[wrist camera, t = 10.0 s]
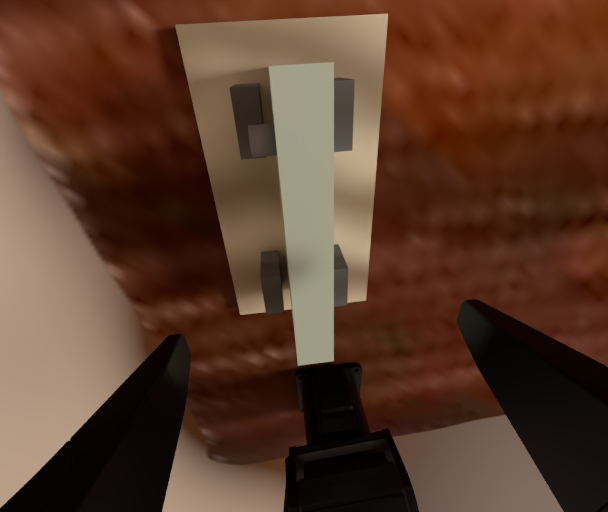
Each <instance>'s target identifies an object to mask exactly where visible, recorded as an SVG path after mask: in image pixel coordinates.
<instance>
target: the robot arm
mask: <svg viewBox="0 0 608 512" xmlns="http://www.w3.org/2000/svg"><path fill="white" fill-rule="evenodd" d="M457 323H458V327H459V329H460V331H461V333H462V335H463V337H464V339H465V342H466V344H467V346H468V348H469V350H470V352H471V354H472V357H473V359H474V361H475V363H476V365H477V367H478V369H479V370H480V372H481V374H482V376H483V377H484V379H485V381H486V382H487V384H488V386H489V387H490V389H491V391H492V392H493V394H494V396H495V397H496V399H497V401H498V402H499V404H500V406H501V407H502V409H503V411H504V412H505V414H506V416H507V417H508V419H509V421H510V422H511V424H512V426H513V427H514V429H515V431H516V432H517V434H518V436H519V437H520V439H521V441H522V442H523V444H524V446H525V447H526V449H527V451H528V453H529V454H530V456H531V457H532V459H533V461H534V462H535V464H536V466H537V467H538V469H539V471H540V473H541V474H542V476H543V478H544V479H545V481H546V483H547V484H548V486H549V488H550V489H551V491H552V493H553V494H554V496H555V498H556V499H557V501H558V503H559V504H560V506H561V508H562V509H563V511H564V512H608V367H606V366H605V365H603V364H601V363H600V362H598V361H596V360H594V359H592V358H590V357H588V356H586V355H584V354H582V353H580V352H578V351H576V350H574V349H572V348H570V347H568V346H567V345H565V344H563V343H561V342H559V341H557V340H555V339H553V338H551V337H549V336H547V335H545V334H543V333H541V332H539V331H537V330H535V329H534V328H532V327H530V326H528V325H526V324H524V323H522V322H520V321H518V320H516V319H514V318H512V317H510V316H508V315H506V314H504V313H502V312H501V311H499V310H497V309H495V308H493V307H491V306H489V305H487V304H485V303H483V302H481V301H479V300H476V299H473V300H465V301H463V302H462V304H461V308H460V311H459V314H458V318H457ZM190 362H191V353H190V349H189V347H188V344H187V341H186V339H185V336H184V335H183V334H174V335H169V336H168V337H167V338H166V339H165V340H164V341H163V342H162V343H161V344H160V345H159V346H158V347H157V348H156V349H155V350H154V351H153V352H152V353H151V354H150V355H149V356H148V358H147V359H146V360H145V361H144V362H143V363H142V364H141V365H140V366H139V367H138V368H137V369H136V370H135V371H134V372H133V373H132V374H131V375H130V376H129V378H128V379H127V380H126V381H125V382H124V383H123V384H122V385H121V386H120V387H119V388H118V389H117V390H116V391H115V392H114V394H112V396H110V398H108V400H107V401H106V402H105V403H104V404H103V405H102V406H101V407H100V408H99V409H98V410H97V411H96V412H95V413H94V414H93V415H92V416H91V418H89V419H88V421H87V422H86V423H85V424H84V425H83V426H82V427H81V428H80V429H79V430H78V431H77V432H76V433H75V434H74V435H73V436H72V437H71V439H70V441H68V442H66V444H64V446H63V447H62V448H61V449H60V450H59V451H58V452H57V453H56V454H55V455H54V456H53V457H52V458H51V459H50V460H49V461H48V462H47V463H46V464H45V465H44V466H43V467H42V468H41V469H40V470H39V471H38V472H37V473H36V474H35V475H34V476H33V477H32V478H31V479H30V480H29V481H28V482H27V483H26V484H25V485H24V486H23V487H22V488H21V489H20V490H19V491H18V492H17V493H16V494H15V495H14V496H13V497H12V498H11V499H9V500H8V501H7V502H6V503H5V504H4V505H3V506H2V507H1V508H0V512H162V508H163V504H164V500H165V495H166V491H167V486H168V482H169V478H170V473H171V469H172V464H173V460H174V456H175V451H176V447H177V442H178V437H179V433H180V429H181V425H182V420H183V416H184V411H185V405H186V398H187V389H188V380H189V371H190ZM361 373H362V368H361V365H360V364H349V365H341V366H333V367H326V368H318V369H310V370H302V371H298V372H296V374H295V376H296V385H297V395H298V404H299V411H300V412H302V413H304V422H305V431H306V440H307V445H305V446H300V447H296V446H293V447H289V456H288V457H287V458H286V459H285V466H286V489H285V500H284V512H419V510H418V506H417V501H416V498H415V494H414V491H413V488H412V484H411V482H410V479H409V476H408V473H407V471H406V469H405V466H404V464H403V462H402V459H401V457H400V455H399V452H398V450H397V447H396V445H395V443H394V440H393V438H392V436H391V433H390V431H389V429H388V428H387V429H382V431H378V432H373V433H370V430H369V426H368V423H367V420H366V416H365V413H364V409H363V406H362V402H361V399H360V386H361Z"/></svg>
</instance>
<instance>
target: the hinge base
mask: <svg viewBox="0 0 608 512" xmlns="http://www.w3.org/2000/svg"><path fill="white" fill-rule="evenodd" d="M387 22H388V14H373V15H354V16H335V17H315V18H296V19H276V20H257V21H238V22H218V23H199V24H179V25H175V27H176V31H177V36H178V40H179V45H180V49H181V53H182V58H183V62H184V67H185V71H186V76H187V80H188V85H189V89H190V93H191V98H192V102H193V107H194V111H195V116H196V120H197V124H198V129H199V133H200V138H201V142H202V147H203V151H204V156H205V160H206V164H207V169H208V173H209V178H210V182H211V187H212V191H213V196H214V200H215V204H216V209H217V213H218V218H219V222H220V227H221V231H222V235H223V240H224V244H225V249H226V253H227V258H228V262H229V267H230V271H231V275H232V280H233V284H234V289H235V293H236V298H237V302H238V307H239V311H240V315H244V314H253V313H261V312H266V314H275V313H284V310H288V309H292V306H291V297H290V288H289V278H288V268H287V258H286V248H285V238H284V228H283V218H282V208H281V198H280V188H279V178H278V168H277V158H276V155H275V156H263V157H252V155H251V149H250V143H249V134H248V125H260V124H273V119H272V109H271V99H270V89H269V79H268V69H267V67H268V66H278V65H294V64H310V63H326V62H334V307H336V306H345V305H347V303H349V302H358V301H366V294H367V281H368V268H369V255H370V242H371V229H372V216H373V203H374V191H375V178H376V165H377V152H378V139H379V126H380V113H381V100H382V87H383V74H384V61H385V48H386V35H387Z"/></svg>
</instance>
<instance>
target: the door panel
mask: <svg viewBox="0 0 608 512" xmlns="http://www.w3.org/2000/svg"><path fill="white" fill-rule="evenodd" d="M267 69H268V79H269V89H270V99H271V109H272V119H273V124H260V125H248V134H249V143H250V149H251V155H252V157H263V156H275V155H276V158H277V168H278V178H279V188H280V198H281V208H282V218H283V228H284V238H285V248H286V258H287V268H288V278H289V288H290V297H291V306H292V315H293V324H294V333H295V342H296V352H297V361H298V366H299V365H307V364H315V363H323V362H331V361H334V62H326V63H310V64H294V65H278V66H268V67H267Z"/></svg>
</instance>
